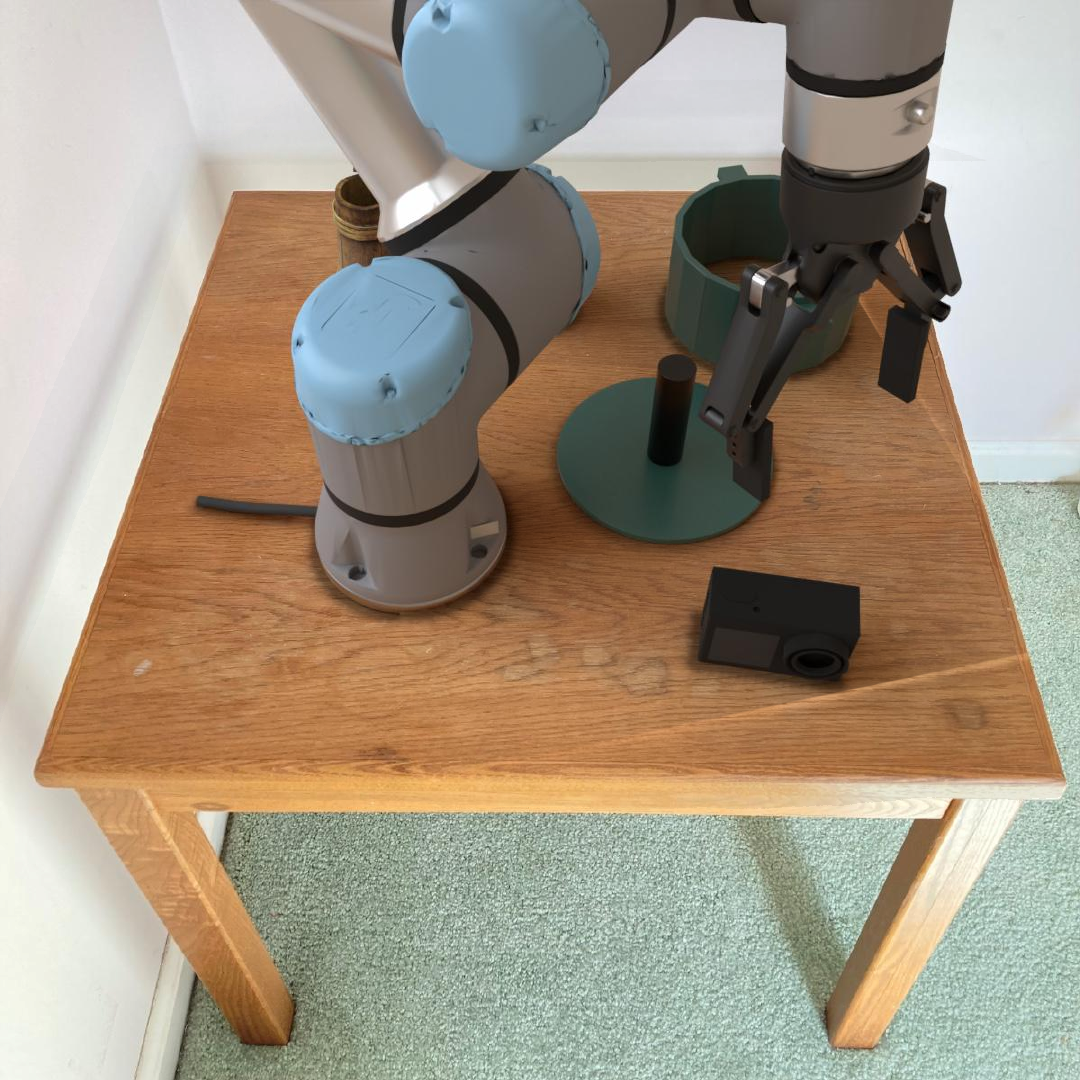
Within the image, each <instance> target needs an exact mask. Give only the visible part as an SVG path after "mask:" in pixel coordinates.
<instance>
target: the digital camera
mask: <svg viewBox="0 0 1080 1080" xmlns="http://www.w3.org/2000/svg"><path fill="white" fill-rule="evenodd" d="M699 624H700V630H699V641H698V651H697V661H698V662H699V663H703V664H704V663H705V664H712V665H717V666H725V667H731V668H738V669H746V670H751V671H757V672H758V671H760V672H765V673H771V674H772V673H773V674H779V675H785V676H793V677H799V678H802V679H805V680H812V681H827V682H833V683H838V682H839V681H840V680H841V677H842V675H844V674H845V673H847V671H848V670H849V668H850V659H851V657H852V655H853V653H854V651H855V649H856V647H857V645H858V643H859V641H860V638H861V636H862V635H861V634H862V632H861V587H860V586H859V585H852V584H845V583H838V582H831V581H825V580H817V579H812V578H811V579H810V578H802V577H796V576H789V575H782V574H774V573H767V572H760V571H752V570H745V569H737V568H730V567H729V568H728V567H721V566H714V565H713V566H712V569H711V573H710V576H709V581H708V586H707V589H706V595H705V599H704V603H703V609H702V611H701V619H700V623H699Z"/></svg>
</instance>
